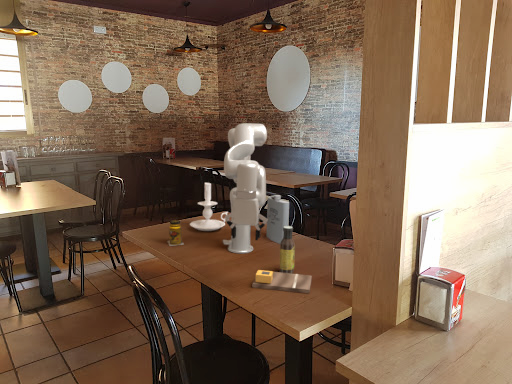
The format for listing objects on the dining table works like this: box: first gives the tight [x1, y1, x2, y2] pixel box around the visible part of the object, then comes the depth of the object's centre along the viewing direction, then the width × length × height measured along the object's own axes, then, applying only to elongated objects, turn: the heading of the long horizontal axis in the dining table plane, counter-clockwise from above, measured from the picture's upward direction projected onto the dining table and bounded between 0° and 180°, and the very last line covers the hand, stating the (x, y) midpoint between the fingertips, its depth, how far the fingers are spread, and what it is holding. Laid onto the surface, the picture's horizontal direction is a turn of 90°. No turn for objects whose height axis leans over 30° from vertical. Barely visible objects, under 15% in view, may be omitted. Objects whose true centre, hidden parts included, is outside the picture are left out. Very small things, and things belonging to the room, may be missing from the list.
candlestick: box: [189, 182, 229, 232], centre depth 228 cm, size 21×25×28 cm
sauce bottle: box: [279, 225, 296, 274], centre depth 166 cm, size 6×6×20 cm
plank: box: [251, 271, 313, 294], centre depth 156 cm, size 22×14×2 cm, turn 79°
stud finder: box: [255, 269, 274, 284], centre depth 153 cm, size 6×5×3 cm
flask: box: [265, 194, 290, 245], centre depth 209 cm, size 17×5×25 cm, turn 30°
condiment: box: [166, 219, 185, 247], centre depth 201 cm, size 7×8×12 cm
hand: (245, 238), depth 152 cm, fingers open, 8 cm apart
